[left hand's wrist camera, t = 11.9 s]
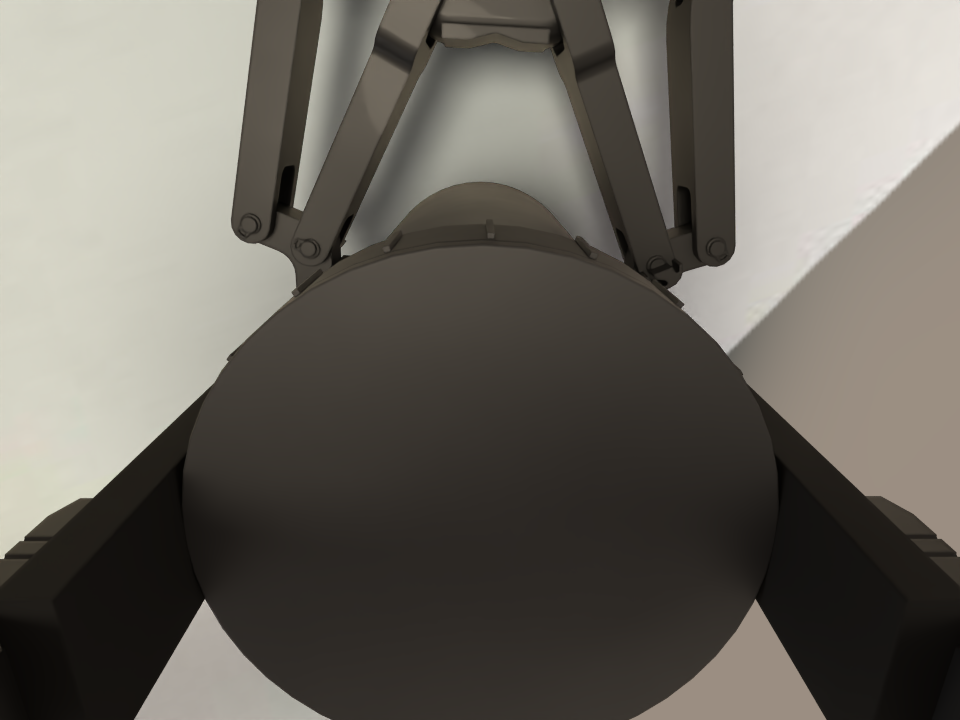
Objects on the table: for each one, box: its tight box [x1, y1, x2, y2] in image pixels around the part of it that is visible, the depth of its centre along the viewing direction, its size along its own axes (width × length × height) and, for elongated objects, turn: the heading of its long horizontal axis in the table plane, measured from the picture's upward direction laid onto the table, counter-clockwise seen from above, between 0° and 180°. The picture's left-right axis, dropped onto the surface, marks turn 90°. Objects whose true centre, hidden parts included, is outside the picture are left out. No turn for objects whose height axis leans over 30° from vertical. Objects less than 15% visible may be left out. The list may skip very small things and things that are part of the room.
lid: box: [181, 219, 779, 720], centre depth 11 cm, size 10×10×2 cm
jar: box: [385, 182, 574, 241], centre depth 19 cm, size 8×8×18 cm
